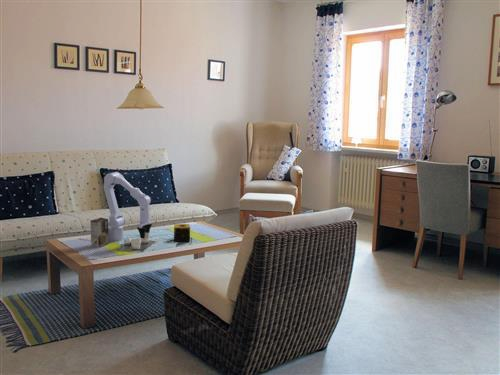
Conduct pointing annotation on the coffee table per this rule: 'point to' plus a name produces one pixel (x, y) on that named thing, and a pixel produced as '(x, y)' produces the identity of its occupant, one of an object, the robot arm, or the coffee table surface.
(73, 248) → the coffee table surface
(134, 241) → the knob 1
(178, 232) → the candle
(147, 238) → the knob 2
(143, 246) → the levelling base
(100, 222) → the coffee box
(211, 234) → the coffee table surface
